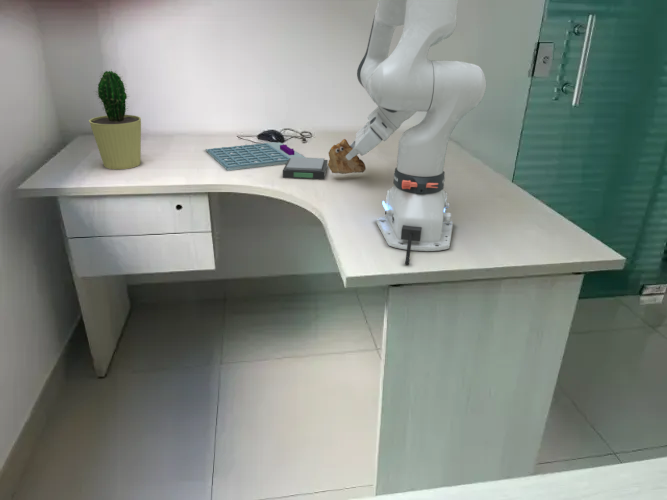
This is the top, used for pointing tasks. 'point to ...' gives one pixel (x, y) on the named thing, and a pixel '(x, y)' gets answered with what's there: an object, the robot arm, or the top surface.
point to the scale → (305, 168)
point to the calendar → (253, 155)
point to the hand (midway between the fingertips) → (347, 154)
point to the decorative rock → (344, 160)
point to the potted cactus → (116, 126)
